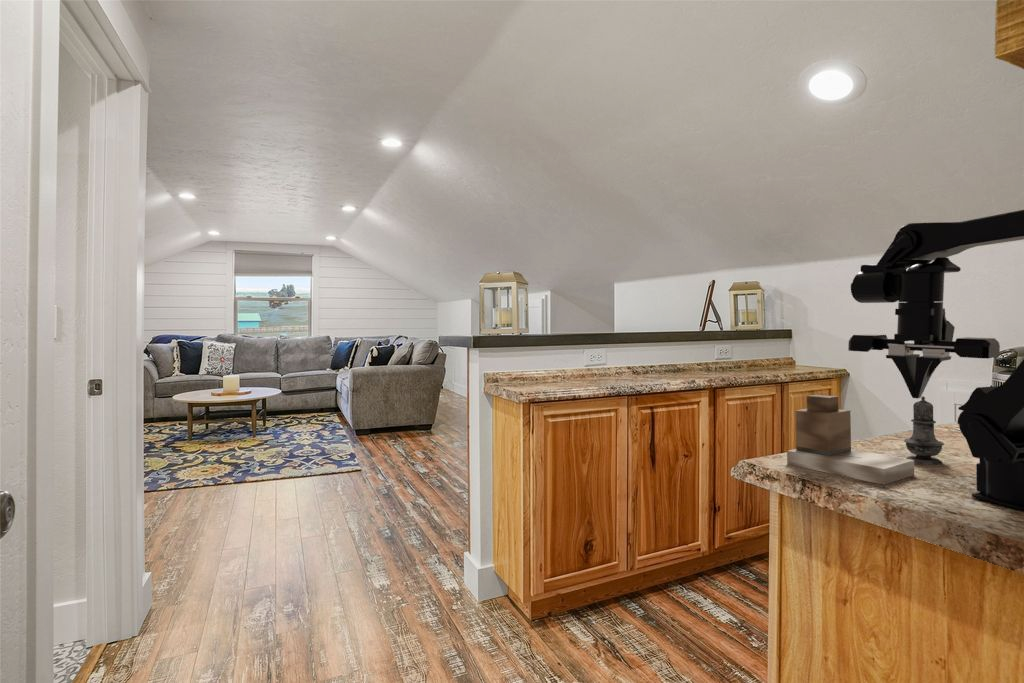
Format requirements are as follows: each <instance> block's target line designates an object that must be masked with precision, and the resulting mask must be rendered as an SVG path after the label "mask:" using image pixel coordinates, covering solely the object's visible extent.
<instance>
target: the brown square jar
mask: <svg viewBox="0 0 1024 683" xmlns="http://www.w3.org/2000/svg"><path fill="white" fill-rule="evenodd" d="M839 406H840V405H839V396H836V395H825V394H811V395H806V408H802V409H796V410H794V411H795V446H796V447H795V449H796V451H802V452H807V453H813V454H819V455H824V456H834V455H838V454H842V453H846V452H850V451H851V450H852V435H851V434H852V432H851V430H852V426H851V421H852V420H851V418H852V417H851V410H849V409H840V408H839Z"/></svg>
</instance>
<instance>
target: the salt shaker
mask: <svg viewBox="0 0 1024 683" xmlns="http://www.w3.org/2000/svg"><path fill="white" fill-rule="evenodd" d="M920 399H921V400H919V401H916V402H914V404H913V405H912V406H913V411H912V412H913V418H912V419H911V420H910V421H911V422H912V434H911V436H910V437H909V438H905V439H904V440H903V442H904V443H905V447H906V448H907V451H909V452H910V453H911V454H913V455H910V456H908V457H907V456H906V458H905V459H911V460H914V464H915V463H916V464H923V465H934V466H935V465H942V464H943V461H942V460H940V459H939V458H937V457H935V456H937V455H939V454H940V453H941V452H942V449H943V446H944V445H945V443H944V442H943V441H940V440H938V439H937V438H936V436H935V424H936V423H937V421H936V420H934V405H933V404H932V403H931V402H929V401H927V400H926V397H925V396H924V395H922V396H921V398H920Z"/></svg>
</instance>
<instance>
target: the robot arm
mask: <svg viewBox="0 0 1024 683" xmlns="http://www.w3.org/2000/svg"><path fill="white" fill-rule="evenodd" d="M1022 240H1024V209H1021V210H1015V211H1010V212H1005V213H999V214H996V215H995V214H994V215H990V216H989V215H988V216H984V217H979V218H973V219H968V220H963V221H954V222H951V221H950V222H947V221H946V222H940V221H939V222H911V223H906V224H904V225H902V226H901V227H899V230H898V231H897V232H896V234H895V236H894V238H893V241H892V242H891V243H890V244H889V246H888V248H887V249H886V250H885V252H884V253H883V255H882V256H881V257H880V259H879V260H878V262H877V263H876V264H862V265H860V271H859V272H858V273H857V274H856V275H854V277H853V280H852V282H851V283H850V293H851V296H852V297H853V299H854V300H855V301H856V302H857V303H861V304H871V303H872V304H878V303H881V304H882V303H883V304H884V303H888V304H889V303H891V304H892V303H896V302H898V308H895V310H894V314H895V316H897V327H896V328H897V329H896V330H897V333H894V336H893V337H894V338H888V336H887V334H875V333H874V334H873V333H872V334H871V333H869V334H868V333H863V334H853V335H852V336H851V337H850V338H849V340H848V350H847V351H848V352H849V351H850V352H860V353H861V352H864V353H865V352H866V353H868V352H870V351H873V350H875V351H884V350H888V352H887V353H888V354H885V358H886V359H891V360H892V361H893V363H894V365H895V366H896V367H897V369H898V371H899V373H900V374H901V376H902V379H903V380H904V383H905V384H906V387H907V389H908V391H909V394H910V396H911V397H912V398H913V399H921V398H922V396H923V394H924V392H925V389H926V387H927V385H928V383H929V381H930V379H931V377H932V375H933V374H934V372H935V371H936V369H937V368H938V367H939V365H940V364H941V363H942V362H945V361H950V360H951V359H952V356H951V355H950V353H952V354H953V353H955V355H957V356H958V357H960V358H969V359H970V358H971V359H992V358H997V357H998V358H999V357H1000V350H1001V349H1000V348H1001V346H1000V342H999V341H998V340H997V339H996V338H994V337H993V338H992V337H956V339H955V340H953V339H954V333H955V326H954V325H953V324H952V323H951V322H950V321H949V320H947V317H946V308H944V294H945V293H944V292H945V291H944V290H945V274H949V273H959V272H961V270H962V268H961V267H960V266H958V265H957V264H955V263H954V262H952V261H951V260H950V258H949V257H952V256H955V255H958V254H960V253H961V254H962V252H965V251H966V250H970V249H972V248H976V247H982V246H988V245H995V244H1001V243H1003V244H1004V243H1010V242H1014V241H1022ZM909 341H910V342H913V343H908V342H909ZM915 351H917V352H919V351H920V352H921V353H922V355H923V356H921V355H920V354H918V353H914V352H915ZM969 396H970V397H969V398H968V400H967V401H966V402H965V403H964V404H963V405H960V406H958V410H960V411H961V412H960V414H959V416H958V417H957V422H956V423H957V425H958V426H959V430H960V432H961V434H962V435H963V437H964V438H965V440H966V442H967V443H966V444H967V446H968V448H969V450H970V453H971V455H972V457H973V458H976V459H979V462H977V463H976V468H975V469H976V472H975V473H976V476H975V478H976V482H975V483H976V491H977V492H973V493H971V497H972V498H975V499H978V500H982V501H985V502H990V503H994V504H997V505H1001V506H1004V507H1009V508H1013V509H1017V510H1020V511H1024V359H1022V361H1021V362H1020V363H1019V364H1018V365H1017V367H1015V369H1014V370H1013V371H1012V373H1011V374H1010V375H1009V377H1007V379H1005V381H1004V382H1003V383H1001V385H995V386H994V385H993V386H992V385H991V386H982V387H981V386H979V387H975V389H974V390H973V391H972V392H971V394H970V395H969Z"/></svg>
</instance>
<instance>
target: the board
mask: <svg viewBox="0 0 1024 683" xmlns="http://www.w3.org/2000/svg"><path fill="white" fill-rule="evenodd" d="M786 463H787V464H786V465H788V466H789V465H790V466H793V467H798V468H803V469H808V470H813V471H818V472H822V473H827V474H832V475H836V476H840V475H841V476H842V477H845V476H846V477H845V478H850V479H856V480H860V481H865V482H869V483H874V484H879V485H884V486H885V485H888V484H891V483H895V482H897V481H900V480H903V479H907V478H909V477H913V476H915V463H914V460H911V459H906V458H904V457H898V456H892V455H888V454H887V455H886V454H880V453H876V452H875V453H873V452H869V451H861V450H858V449H857V450H856V449H851V451H850V452H846V453H842V454H838V455H834V456H824V455H819V454H813V453H807V452H802V451H796V448H793V449H789V450H786ZM841 476H840V477H841Z"/></svg>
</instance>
